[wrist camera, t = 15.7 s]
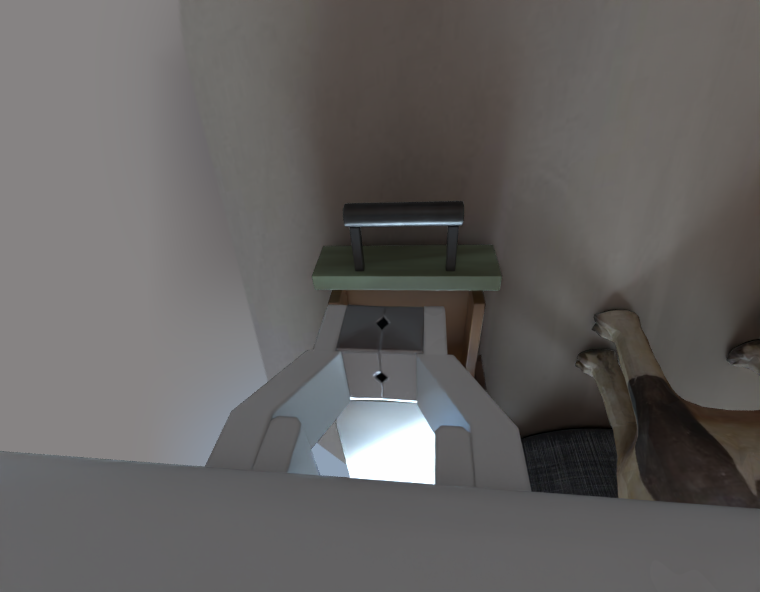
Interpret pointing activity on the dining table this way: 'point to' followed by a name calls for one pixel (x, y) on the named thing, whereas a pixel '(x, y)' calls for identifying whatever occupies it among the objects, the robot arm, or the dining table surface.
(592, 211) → the dining table surface
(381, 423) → the cabinet
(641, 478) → the figurine
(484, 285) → the drawer
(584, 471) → the planter
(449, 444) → the robot arm
